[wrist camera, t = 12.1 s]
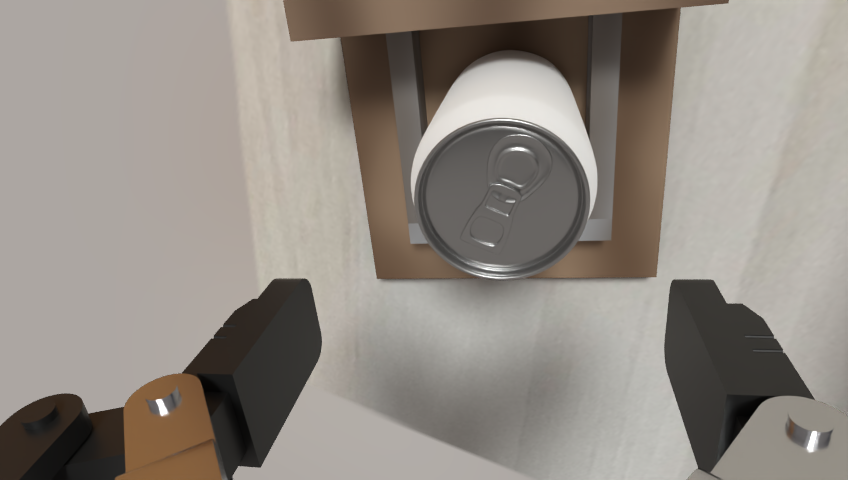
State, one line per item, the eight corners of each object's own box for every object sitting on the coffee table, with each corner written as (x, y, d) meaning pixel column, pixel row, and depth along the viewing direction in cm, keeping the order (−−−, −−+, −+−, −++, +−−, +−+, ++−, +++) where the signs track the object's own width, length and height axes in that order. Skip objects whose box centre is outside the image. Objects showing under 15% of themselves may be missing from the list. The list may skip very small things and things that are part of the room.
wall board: (677, -44, 26) (734, -46, 19) (651, 264, 33) (685, 348, 26) (342, -10, 29) (283, 0, 22) (382, 266, 36) (347, 342, 29)
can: (598, 78, 27) (645, 154, 17) (539, 192, 30) (548, 318, 20) (474, 26, 27) (442, 70, 17) (427, 147, 30) (375, 248, 20)
